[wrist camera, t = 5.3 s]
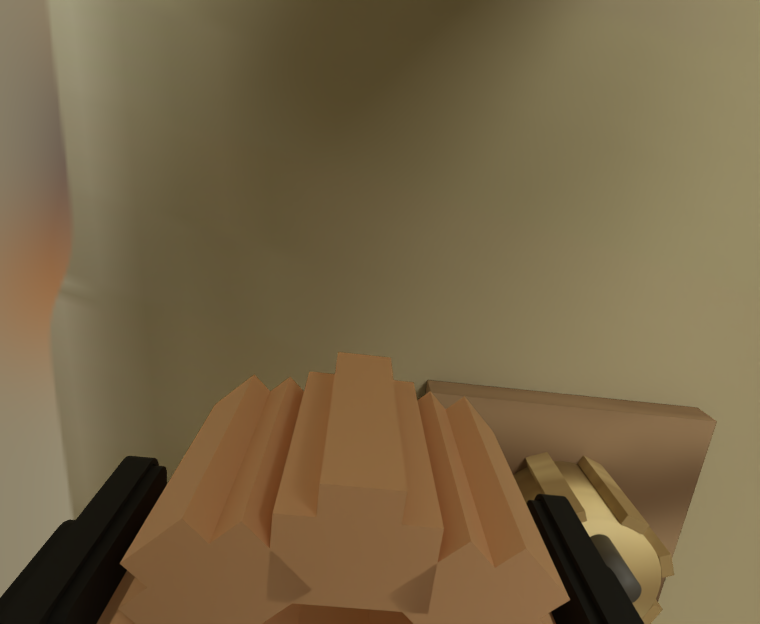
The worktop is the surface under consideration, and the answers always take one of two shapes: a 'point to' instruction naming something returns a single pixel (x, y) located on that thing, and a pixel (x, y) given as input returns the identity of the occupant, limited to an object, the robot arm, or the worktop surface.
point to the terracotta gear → (339, 514)
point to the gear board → (603, 470)
